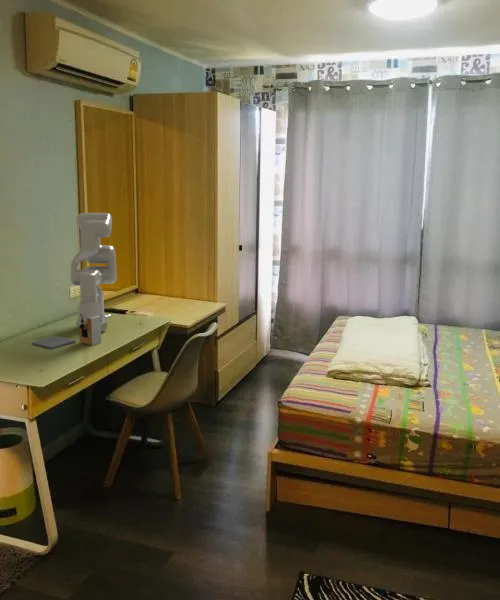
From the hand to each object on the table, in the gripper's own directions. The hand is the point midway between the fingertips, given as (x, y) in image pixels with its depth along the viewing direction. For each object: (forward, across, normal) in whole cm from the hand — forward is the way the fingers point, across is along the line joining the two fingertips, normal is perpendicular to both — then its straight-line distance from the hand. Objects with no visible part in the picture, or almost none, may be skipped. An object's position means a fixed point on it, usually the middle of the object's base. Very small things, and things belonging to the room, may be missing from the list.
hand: (90, 335), depth 285 cm
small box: (+4, 0, 0) cm, 4 cm away
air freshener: (+4, -16, -13) cm, 21 cm away
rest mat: (+4, +11, -13) cm, 17 cm away
